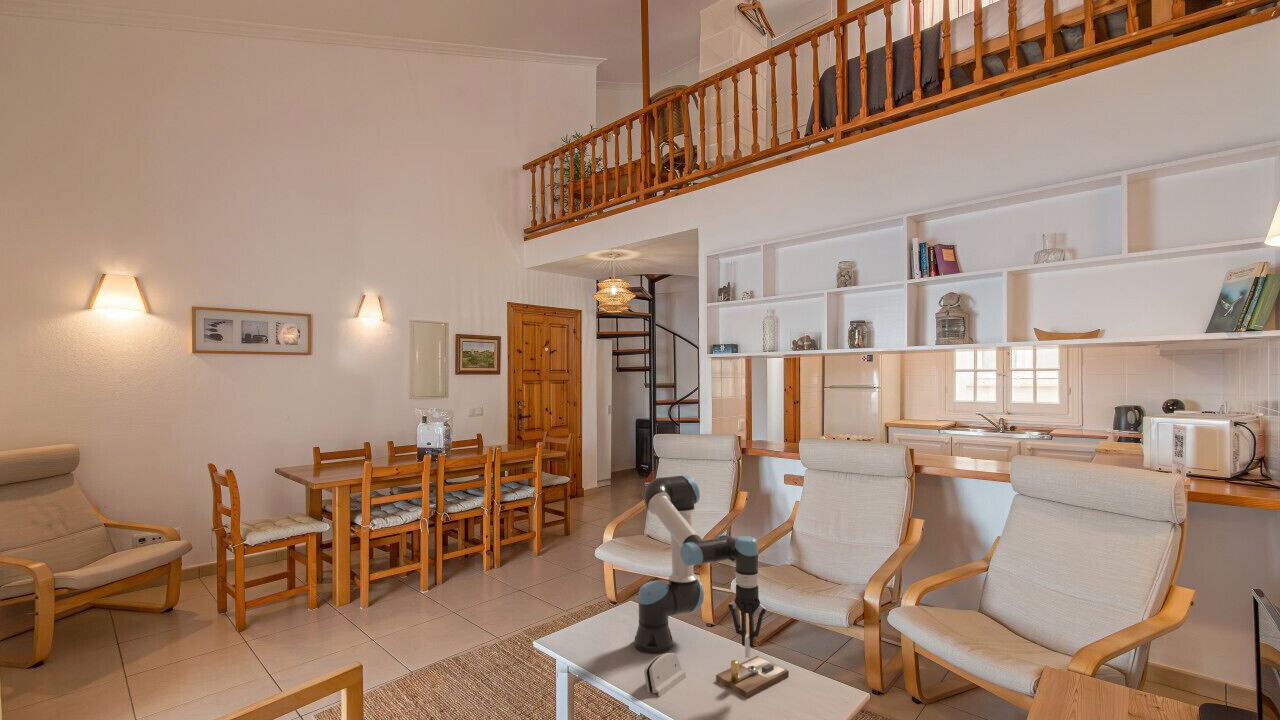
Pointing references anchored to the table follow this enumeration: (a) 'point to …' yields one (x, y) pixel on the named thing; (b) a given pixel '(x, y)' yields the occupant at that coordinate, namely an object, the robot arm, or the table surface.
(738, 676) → the swing bar
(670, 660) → the hinge
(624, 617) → the table surface
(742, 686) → the board
